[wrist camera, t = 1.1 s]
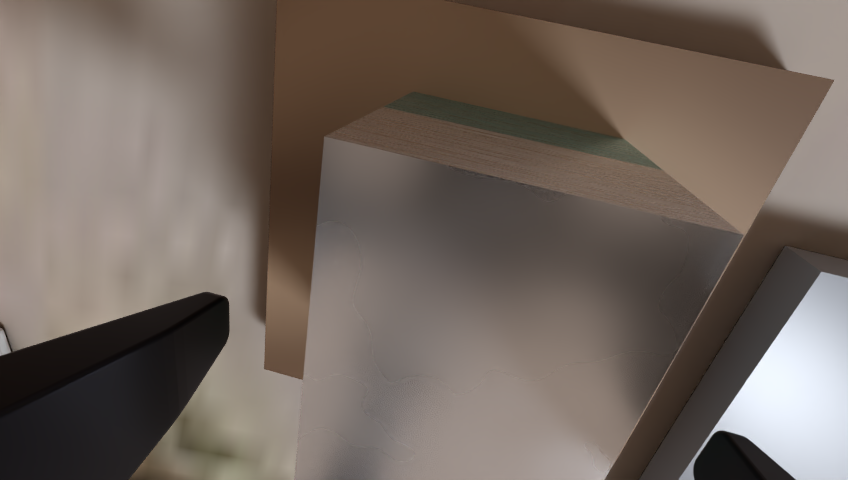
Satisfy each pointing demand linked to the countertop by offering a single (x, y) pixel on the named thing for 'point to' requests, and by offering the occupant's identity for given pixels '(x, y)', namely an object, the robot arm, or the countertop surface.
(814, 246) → the countertop surface
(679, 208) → the block
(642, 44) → the walnut stand
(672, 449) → the slate stand
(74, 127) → the countertop surface
